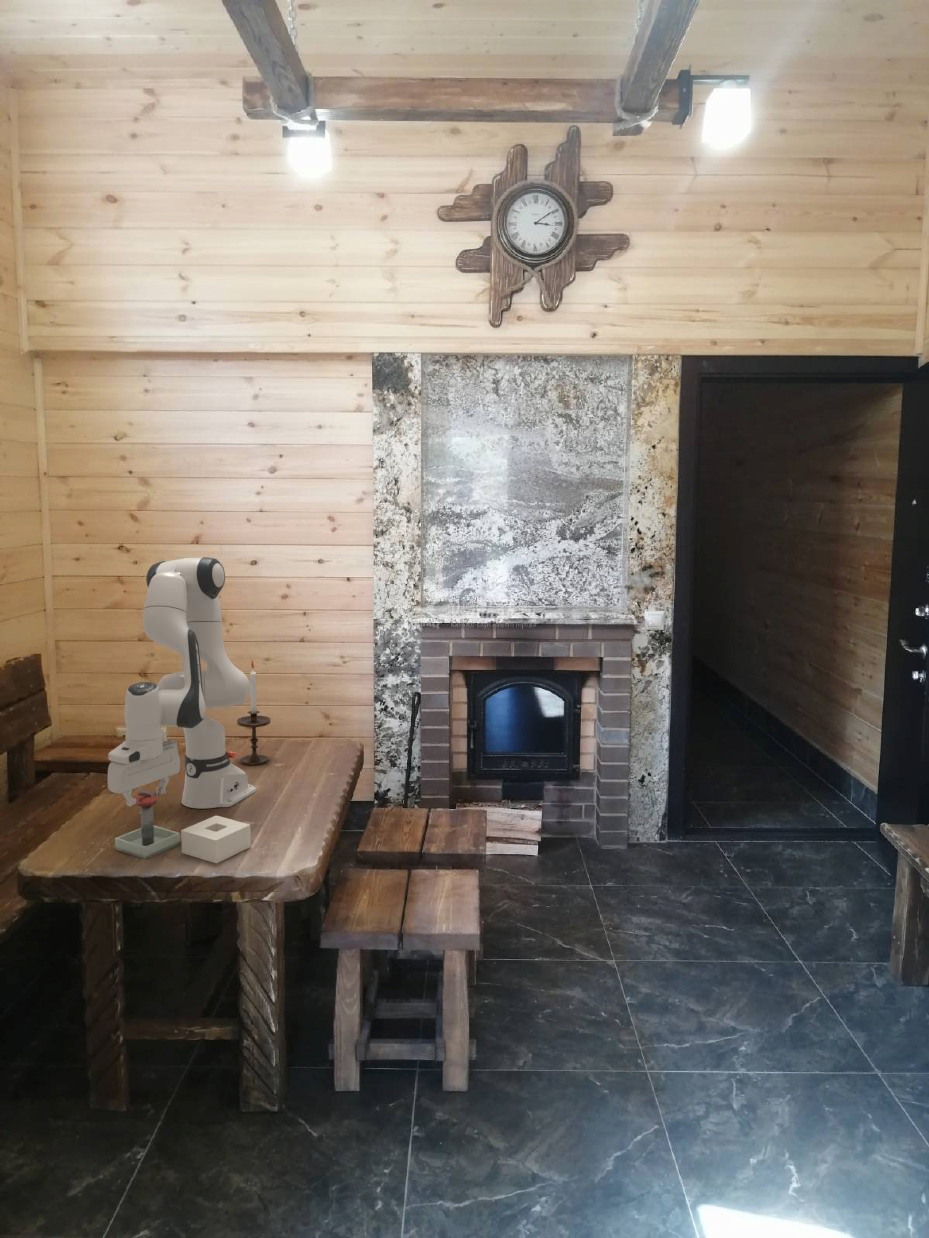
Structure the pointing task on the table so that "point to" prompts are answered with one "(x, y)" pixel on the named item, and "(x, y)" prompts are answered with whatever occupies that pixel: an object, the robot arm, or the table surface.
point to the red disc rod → (146, 815)
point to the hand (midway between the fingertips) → (146, 799)
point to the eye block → (215, 839)
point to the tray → (162, 842)
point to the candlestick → (253, 725)
